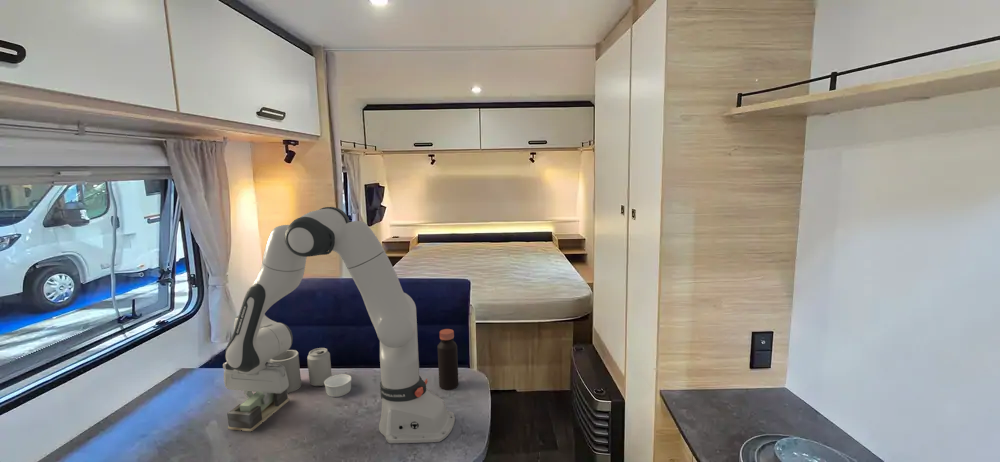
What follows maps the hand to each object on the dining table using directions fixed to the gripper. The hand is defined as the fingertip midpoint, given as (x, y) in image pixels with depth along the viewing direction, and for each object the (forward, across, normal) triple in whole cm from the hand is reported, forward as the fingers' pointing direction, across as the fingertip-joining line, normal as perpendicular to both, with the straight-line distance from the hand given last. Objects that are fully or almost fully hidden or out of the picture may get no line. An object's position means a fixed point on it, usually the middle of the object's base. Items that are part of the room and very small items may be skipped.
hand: (259, 402), depth 136 cm
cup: (+4, +3, -16) cm, 17 cm away
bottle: (+4, -54, -26) cm, 60 cm away
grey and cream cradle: (+4, 0, 0) cm, 4 cm away
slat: (+2, 0, 0) cm, 2 cm away
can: (+4, -7, -22) cm, 23 cm away
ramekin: (+4, -17, -16) cm, 24 cm away
